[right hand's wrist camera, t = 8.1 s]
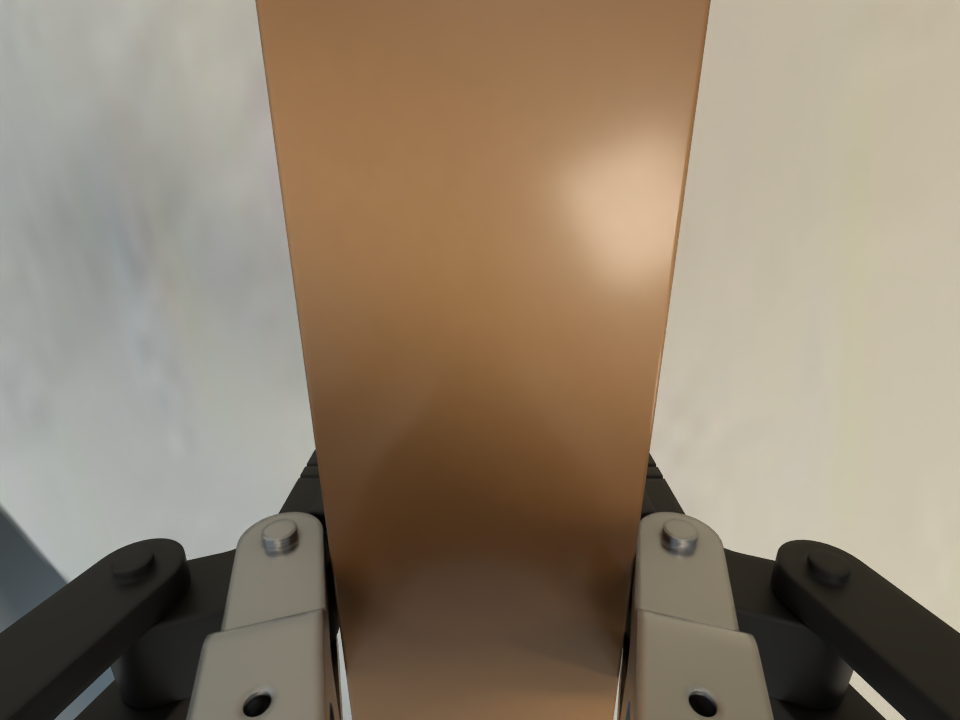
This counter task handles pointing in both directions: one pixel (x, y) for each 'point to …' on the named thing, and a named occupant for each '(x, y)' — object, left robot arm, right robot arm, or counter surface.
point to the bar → (482, 327)
